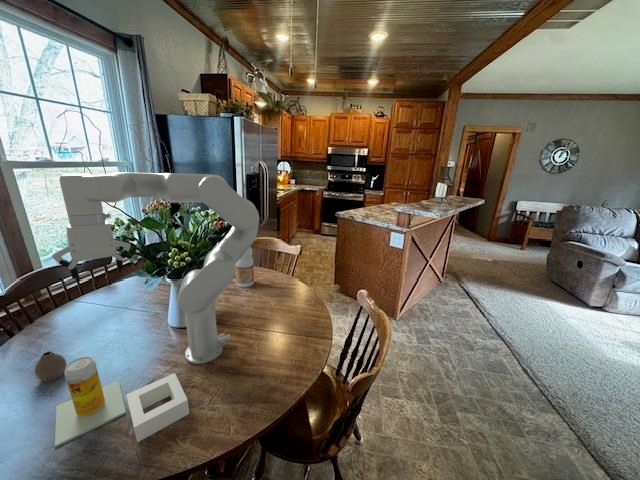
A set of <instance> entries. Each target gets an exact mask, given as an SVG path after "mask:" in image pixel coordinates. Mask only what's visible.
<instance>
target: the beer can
mask: <svg viewBox="0 0 640 480" xmlns="http://www.w3.org/2000/svg"><path fill="white" fill-rule="evenodd" d="M63 375H64V378H65V380H66V383H67V388H68V390H69V395H70V397H71V400H72V401H73V404H74V407H75V411H76V414H77V415H78V416H82V417H87V416H90V415H93V414H95V413H96V412H98V411H99V410H100V409H101V408H102V406H103V405H104V403H105V398H104V394H103V390H102V387H103V386H102V383H101V379H100V375H99V372H98V367H97V363H96V361H95V359H93V358H92V357H91V356H84V357H79V358H77V359H74V360H72V361H71V362H69V363H68V364H67V366H66V368H65V372H64V374H63Z"/></svg>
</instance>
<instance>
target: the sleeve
mask: <svg viewBox="0 0 640 480" xmlns="http://www.w3.org/2000/svg"><path fill="white" fill-rule="evenodd" d="M125 396H126V400H127V406H128V409H129V414H130V417H131V421H132V426H133V429H134V434H135V439H136V442H137V443H139V442H141V441H143V440H144V439H146V438H148V437H151V436H152V435H154V434H155V433H157V432H159V431H160V430H163V429H164V428H166V427H168V426H169V425H172V424H173V423H175V422H177V421H179V420H180V419H182V418H185V417H186V416H188V415H189V414H190V409H189V407H190V406H189V400H188V397H187V396H186V394H185V391H184V390H183V386H182V385H181V382H180V381H179V379H178V376H177V375H176V373H175V372H173V373H171V374H169V375H167V376H164V377H163V378H161V379H158V380H156V381H154V382H151V383H149V384H147V385H144V386H142V387H140V388H138V389H135V390H133V391H132V392H128V393H126V395H125ZM168 397H170V398H171V400H169V401H167V402H165V403H163V404H161V405H159V406H157V407H155V408H153V409H151V410H149V411H147V412H145V413H144V409H146V408H148V407H150V406H152V405H154V404H156V403H158V402H160V401H162V400H164V399H167V398H168Z"/></svg>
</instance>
